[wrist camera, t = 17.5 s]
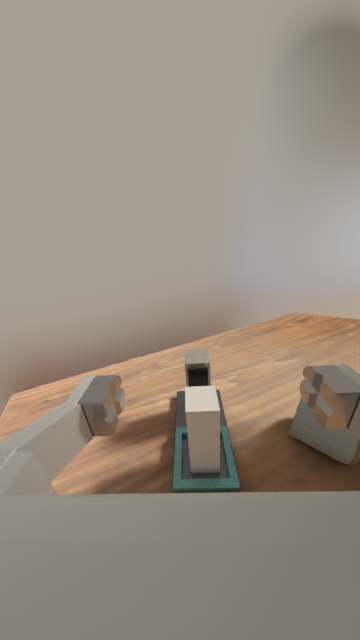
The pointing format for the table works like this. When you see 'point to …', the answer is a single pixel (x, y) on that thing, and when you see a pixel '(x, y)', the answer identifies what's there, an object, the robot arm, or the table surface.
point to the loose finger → (203, 428)
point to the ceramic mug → (324, 436)
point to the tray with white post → (182, 476)
